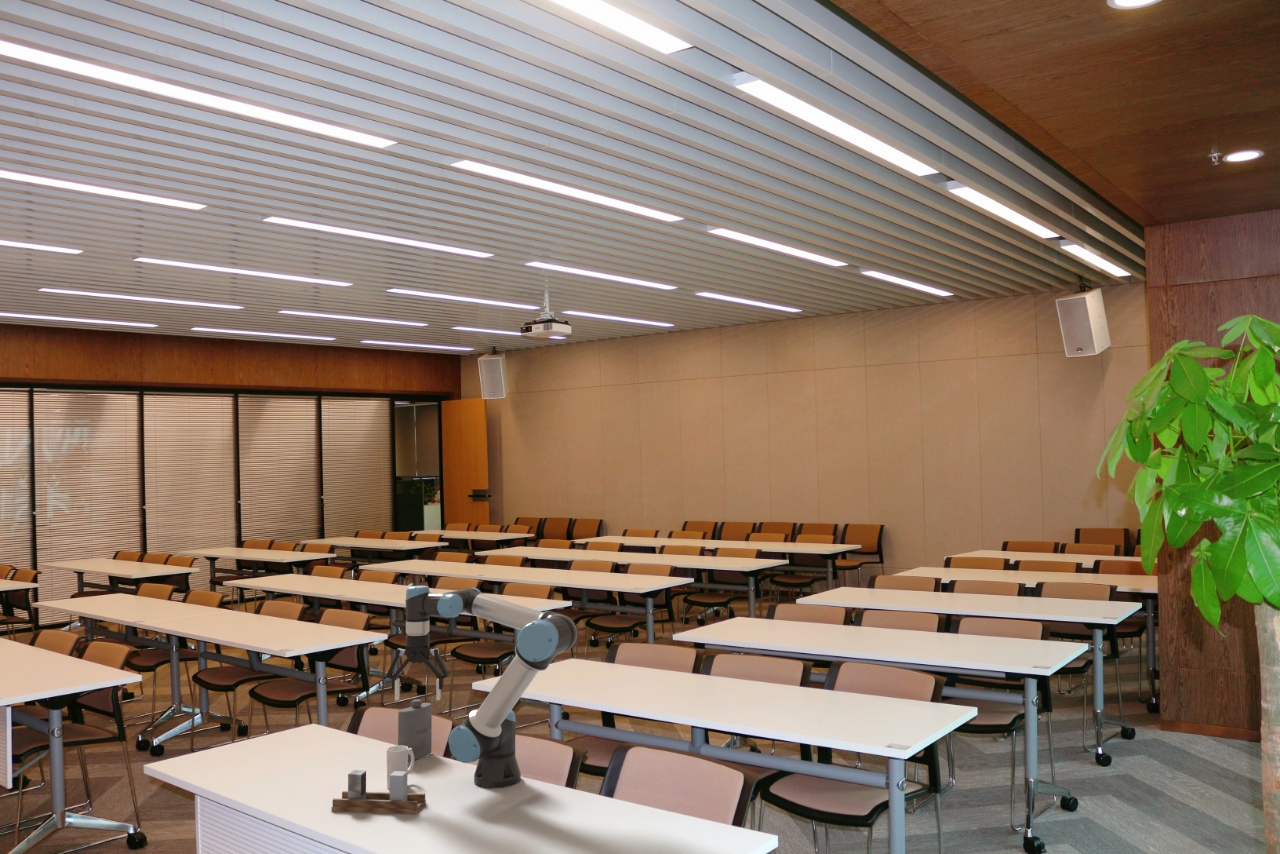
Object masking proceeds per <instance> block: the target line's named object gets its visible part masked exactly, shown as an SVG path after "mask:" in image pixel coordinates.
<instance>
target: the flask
mask: <svg viewBox="0 0 1280 854" xmlns="http://www.w3.org/2000/svg"><path fill="white" fill-rule="evenodd" d="M432 706H433V705H432V703H430V702H422V700H421V699H413V700H411V706H410V707H405V708H401V709H400V710H398V711H397V714H398V715H397V720H398V721H397V746H407V747H408V749H409V748H412V751H413V754H414V762H415V761H417V760H421V759H423V758H425V756H426V757H428V756H430V754H432V743H433V742H432V741H433V740H432V739H433V738H432V730H433V728H432V726H433V725H432V721H433V720H432V719H433V717H432V715H433V713H432V712H433V711H432V709H433V708H432ZM427 755H428V756H427ZM408 763H411V756H410V754H408Z"/></svg>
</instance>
